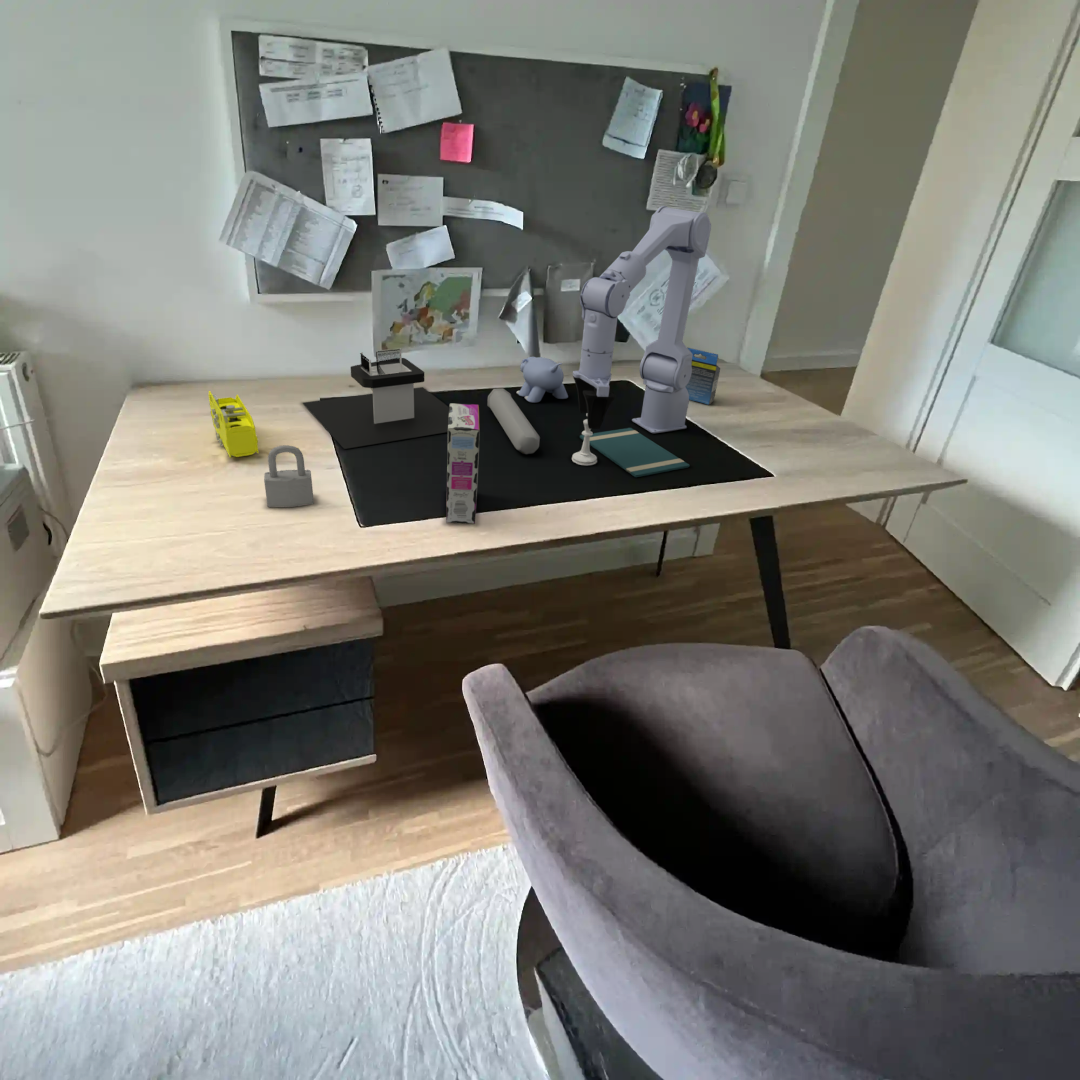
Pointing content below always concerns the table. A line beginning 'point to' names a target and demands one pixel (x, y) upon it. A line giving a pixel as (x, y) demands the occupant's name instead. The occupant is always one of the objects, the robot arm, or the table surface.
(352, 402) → the black-topped pedestal
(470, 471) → the candy bar box
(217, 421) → the yellow toy chassis
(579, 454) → the chess piece
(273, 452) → the padlock
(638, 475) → the towel
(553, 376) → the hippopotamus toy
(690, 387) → the blue retail box
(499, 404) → the tube
